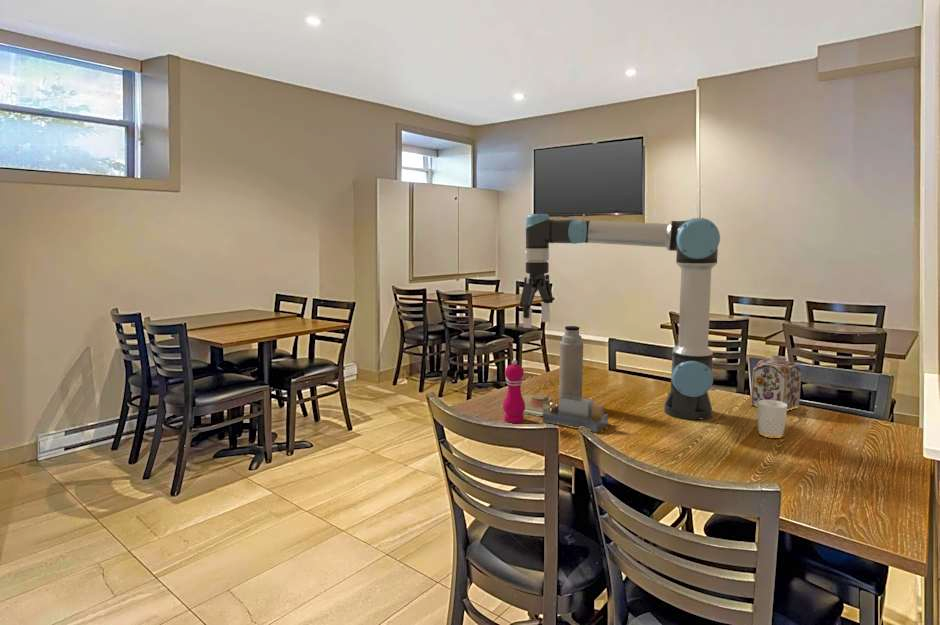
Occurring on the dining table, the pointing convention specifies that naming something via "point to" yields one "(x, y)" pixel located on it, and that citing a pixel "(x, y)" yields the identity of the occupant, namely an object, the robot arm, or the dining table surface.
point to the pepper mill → (514, 394)
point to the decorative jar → (776, 381)
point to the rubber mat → (533, 412)
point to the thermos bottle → (571, 363)
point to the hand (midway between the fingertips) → (536, 324)
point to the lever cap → (537, 402)
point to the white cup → (771, 417)
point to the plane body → (576, 413)
